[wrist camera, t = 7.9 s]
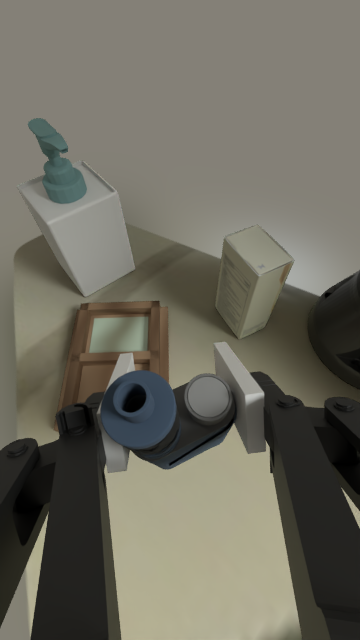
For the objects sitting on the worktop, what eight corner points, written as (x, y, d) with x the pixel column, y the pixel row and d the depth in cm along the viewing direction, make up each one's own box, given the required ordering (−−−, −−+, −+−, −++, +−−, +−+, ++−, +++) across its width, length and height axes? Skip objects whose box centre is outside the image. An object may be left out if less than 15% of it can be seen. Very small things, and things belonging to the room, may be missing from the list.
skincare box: (266, 327, 36) (299, 262, 26) (238, 341, 35) (260, 278, 25) (239, 292, 39) (258, 221, 29) (212, 304, 38) (223, 234, 28)
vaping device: (143, 437, 18) (77, 376, 8) (213, 403, 19) (233, 309, 9) (158, 477, 17) (101, 466, 7) (232, 439, 18) (279, 377, 8)
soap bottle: (85, 299, 39) (14, 163, 23) (58, 263, 43) (-19, 123, 26) (136, 270, 42) (106, 130, 25) (107, 238, 45) (64, 98, 29)
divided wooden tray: (168, 311, 38) (167, 300, 35) (169, 427, 30) (168, 423, 28) (80, 314, 38) (73, 303, 35) (58, 431, 30) (47, 427, 27)
